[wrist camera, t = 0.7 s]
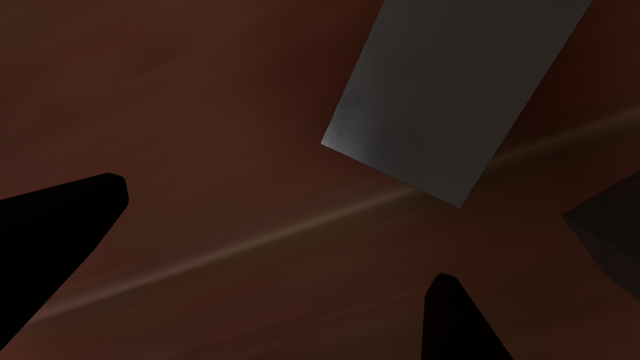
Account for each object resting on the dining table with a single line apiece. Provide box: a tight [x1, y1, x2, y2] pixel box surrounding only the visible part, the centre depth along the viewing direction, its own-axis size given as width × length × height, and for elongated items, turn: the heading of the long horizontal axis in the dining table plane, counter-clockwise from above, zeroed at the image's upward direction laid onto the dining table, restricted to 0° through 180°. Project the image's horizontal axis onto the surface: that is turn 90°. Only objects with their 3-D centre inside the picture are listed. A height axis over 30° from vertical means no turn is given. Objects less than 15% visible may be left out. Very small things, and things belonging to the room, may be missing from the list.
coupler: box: [321, 0, 593, 208], centre depth 16 cm, size 19×10×5 cm, turn 156°
